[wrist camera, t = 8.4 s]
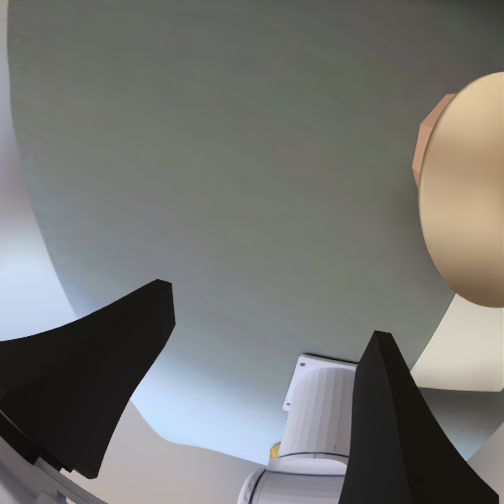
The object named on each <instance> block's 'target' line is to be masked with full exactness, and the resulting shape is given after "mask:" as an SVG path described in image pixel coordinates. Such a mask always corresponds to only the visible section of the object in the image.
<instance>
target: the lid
mask: <svg viewBox="0 0 504 504" xmlns="http://www.w3.org/2000/svg"><path fill="white" fill-rule="evenodd" d="M418 205H419V218H420V223H421V228H422V234H423V237H424V240H425V243H426V246H427V249H428V251H429V253H430V255H431V258H432V260H433V262H434V264H435V266H436V268H437V270H438V272H439V273H440V275H441V276H442V278H443V280H444V281H445V282H446V283H447V284H448V285H449V287H450V288H451V289H452V290H453V291H455V292H456V293H457V294H458V295H459V296H461V297H462V298H464V299H466V300H467V301H469V302H471V303H474V304H476V305H479V306H484V307H489V308H504V72H499V73H491V74H488V75H485V76H482V77H479V78H477V79H475V80H474V81H472V82H470V83H469V84H467V85H466V86H464V87H463V88H462V89H461V90H460V91H459V92H457V93H456V94H455V95H454V97H453V98H452V99H451V100H450V101H449V102H448V104H447V105H446V106H445V108H444V109H443V111H442V113H441V114H440V116H439V117H438V119H437V121H436V123H435V125H434V127H433V129H432V131H431V134H430V136H429V139H428V142H427V145H426V148H425V151H424V156H423V160H422V164H421V170H420V178H419V191H418Z"/></svg>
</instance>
